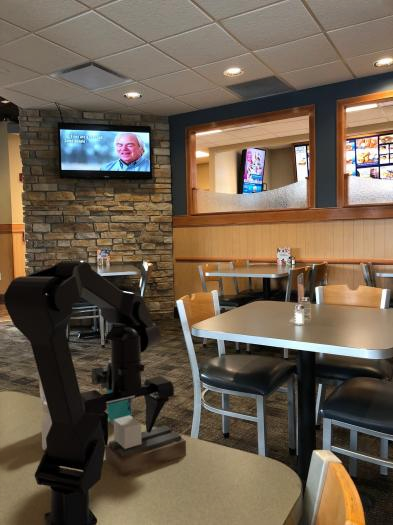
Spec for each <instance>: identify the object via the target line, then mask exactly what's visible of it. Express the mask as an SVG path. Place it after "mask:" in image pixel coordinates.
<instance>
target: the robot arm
mask: <svg viewBox="0 0 393 525" xmlns="http://www.w3.org/2000/svg"><path fill="white" fill-rule="evenodd" d="M3 295H4V296H3V301H4V307H5V309H6V311H7V314H8V316H9V318H10V320H11V322H12V325H13V326H14V327H15V328H16V329H17V330H18V331H19V332H20V333H21V334H22V335H23V336H24V337H25V338H26V339H27V340H28V341H29V343H30V346H31V347H30V348H31V349H32V353H33V358H34V361H35V365H36V368H37V371H38V377H39V380H41V384H42V387H43V391H44V395H45V398H46V402H47V406H48V409H49V413H50V417H51V421H52V425H51V427H50V429H49V432H48V434H47V436H46V445H47V448H46V450H44V453H43V455H42V458H41V459H40V461H39V463H38V465H37V467H36V470H35V472H34V478H35V481H36V484H37V485H38V486H46V487H50V488H49V489H50V493H49V494H50V496H49V497H50V511H48V512H46V513H44V515H43V519H44V521H45V522H46V525H96V524H98V518H97V516H96V515H95V514H94V512H93V511H92V509H91V508H90V490H91V489H92V488H93V487H94V486H95V485H96V484H97V483H98V482H99V481H100V480H101V479H102V473H103V468H104V460H105V446H106V445H107V444H109V418H108V412H106V410H108V404H111V403H115V402H119V401H124V400H128V399H132V400H133V399H136V398H140V397H144V400H145V401H144V402H145V431H147V432H148V433H150V432H151V430H152V429H154V425H155V424H156V421H157V419H158V417H159V415H160V413H161V411H162V409H163V408H164V406H165V404H166V403H167V402H169V401H170V398H171V397H174V396H175V385H174V383H173V382H172V381H170V380H168V379H166V378H164V377H163V376H161V375H160V376H155V377H149V378H145V380H144V383H143V385H142V372H144V371H145V365H144V364H142V358H141V357H142V355H141V354H142V353H144V352H145V351H148V350H149V349H151V348H153V347H155V346H156V345H158V343H159V342H160V340H161V336H162V335H161V333H162V332H161V331H160V329H159V326H158V325H157V324H156V323H154V321H153V319H152V316H151V314H150V310H149V309H148V306H147V304H146V301H145V299H144V297H142V295H140V294H137V293H134V292H130V291H124V290H121V289H119V288H118V287H117V286H115V285H114V284H113V283H111V282H110V281H109V280H107V279H106V278H105V277H104V276H102V275H101V274H99V273H98V272H97V271H96V270H95V269H93V268H92V266H91V264H90V263H89V262H86V261H84V260H60V261H59V262H56V263H54V264H53V265H51V266H50V267H46V268H43V269H40V270H37V271H35V272H32V273H29V274H27V275H25V276H21V275H20V276H17V277H15V278H14V279H13V280H11V282H10V283H9V284H8V286H7V289H6V291H5V292H4V294H3ZM81 298H82V299H84V300H85V301H87V302H88V303H91V304H92V305H94V306H95V307H97V308H98V309H99V310H100V316H101V317H102V318H103V319H104V320H105V321H106V322H107V323H108V324H111V325H113V326H112V327H111V329H110V331H108V332H107V334H106V335H105V337H104V338H105V340H106V341H110V360H111V363H109V365H108V364H107V366H108V371H107V370H104V368H103V367H102V366H101V367H95V368H92V369H91V382H92V384H93V385H94V386H96V385H101V389H106V391H107V390H112V393H107V392H106V393H104V394H102V393H101V392H99V391H98V390H96V389H93V390H89V391H88V390H87V391H85V392H83V391H82V392H81V391H80V386H79V383H78V378H77V374H76V370H75V365H74V360H73V357H72V353H71V348H70V345H69V341H68V340H69V339H68V336H67V327H68V326H69V323H70V321H71V318H72V316H73V305H74V304H75V303H77V302H78V301H79V300H80V299H81Z"/></svg>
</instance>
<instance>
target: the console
mask: <svg viewBox="0 0 393 525" xmlns="http://www.w3.org/2000/svg"><path fill="white" fill-rule="evenodd" d="M186 455H187V441H186V439H184V438H183V437H182V435H181V434H179V433H178V432H176V431H173V430H172V428H170V427H169V426H167V425H161V426H158V427H156V428H152V430H151V432H150V433H148V432H147V431H146V430H144V431H141V444H140V445H136V446H133V447H130V448H126V449H124V448H123V447H122V446H121V445H120V444H119V443H118V442H117V441H115V440H114V439H113V440H110V441H108V443H107V445H106V446H105V454H104V460H106V461H107V462H108V464H109V465H110V466H111V467H112V468H113V469H114V470H115V471H116V472H117V473H118V474H119V475H120V476H121V477H122V478H123V477H125V476H129V475H132V474H134V473H135V474H136V473H137V472H140V471H143V470H147V469H150V468H153V467H155V466H159V465H161V464H164V463H167V462H170V461H173V460H176V459H179V458H181V457H185V456H186Z"/></svg>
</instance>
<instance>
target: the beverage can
mask: <svg viewBox="0 0 393 525" xmlns="http://www.w3.org/2000/svg"><path fill="white" fill-rule="evenodd" d="M107 363H108V364H107V366H106V371H108V365H109V363H111V359H109V360H107ZM106 391H107V392H106V394H107V393H112V390H107V389H106ZM132 400H133V398H132V399H128V400H124V401H119V402H115V403H111V404H107V414H108V422H110V424H111V425H113V426H114V419H117V418H121V417H125V416H129V415H130V416H131V417H133V416H132V415H133V401H132Z"/></svg>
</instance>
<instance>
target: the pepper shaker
mask: <svg viewBox="0 0 393 525" xmlns="http://www.w3.org/2000/svg"><path fill="white" fill-rule="evenodd" d="M42 410H43V416H42V417H41V449H42V450H43V451H45V450H46V448H47V445H46V436H47V434H48V432H49V429H50V427H51V425H52V421H51V417H50V413H49V409H48V406H47V402H44V403H43V406H42Z"/></svg>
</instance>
